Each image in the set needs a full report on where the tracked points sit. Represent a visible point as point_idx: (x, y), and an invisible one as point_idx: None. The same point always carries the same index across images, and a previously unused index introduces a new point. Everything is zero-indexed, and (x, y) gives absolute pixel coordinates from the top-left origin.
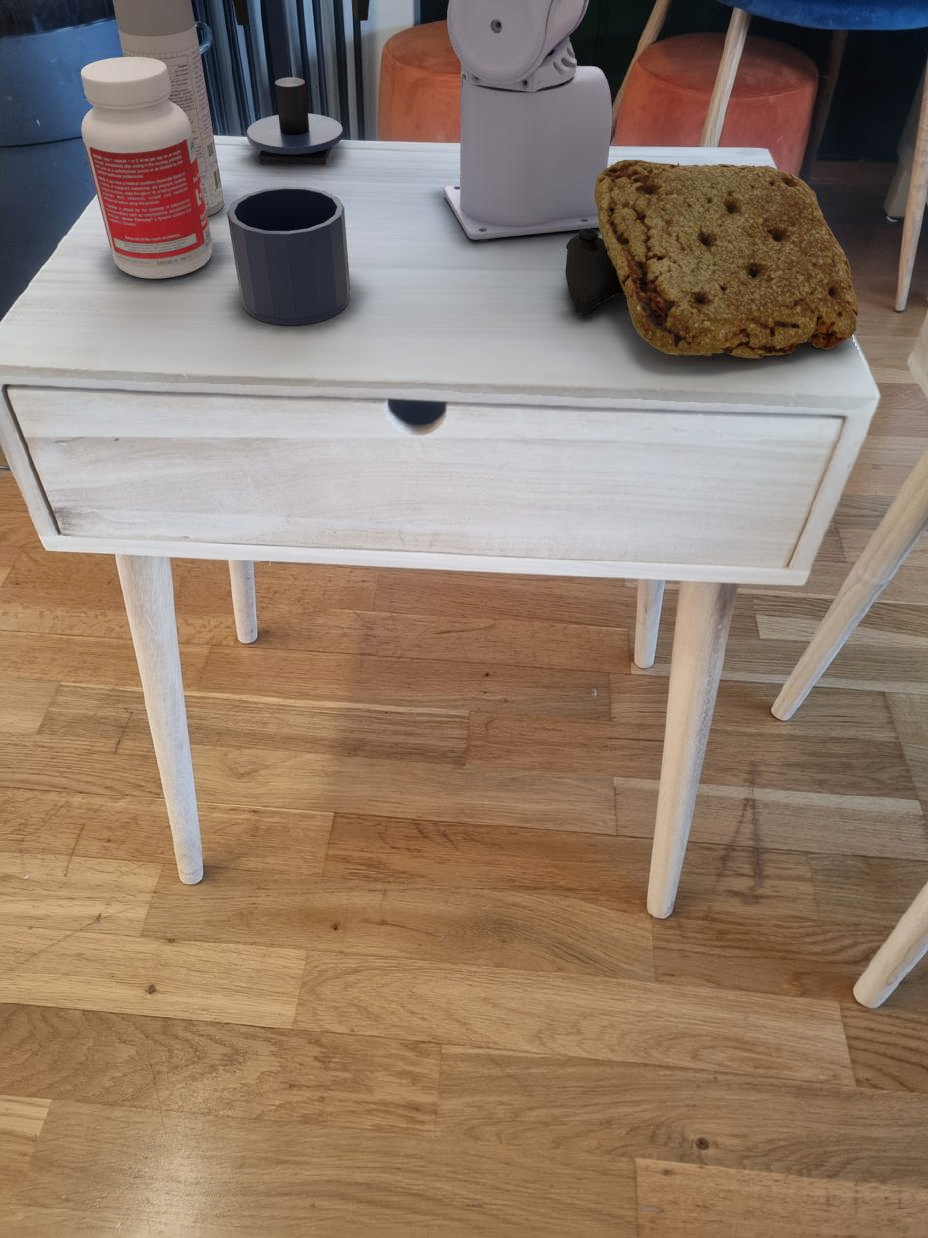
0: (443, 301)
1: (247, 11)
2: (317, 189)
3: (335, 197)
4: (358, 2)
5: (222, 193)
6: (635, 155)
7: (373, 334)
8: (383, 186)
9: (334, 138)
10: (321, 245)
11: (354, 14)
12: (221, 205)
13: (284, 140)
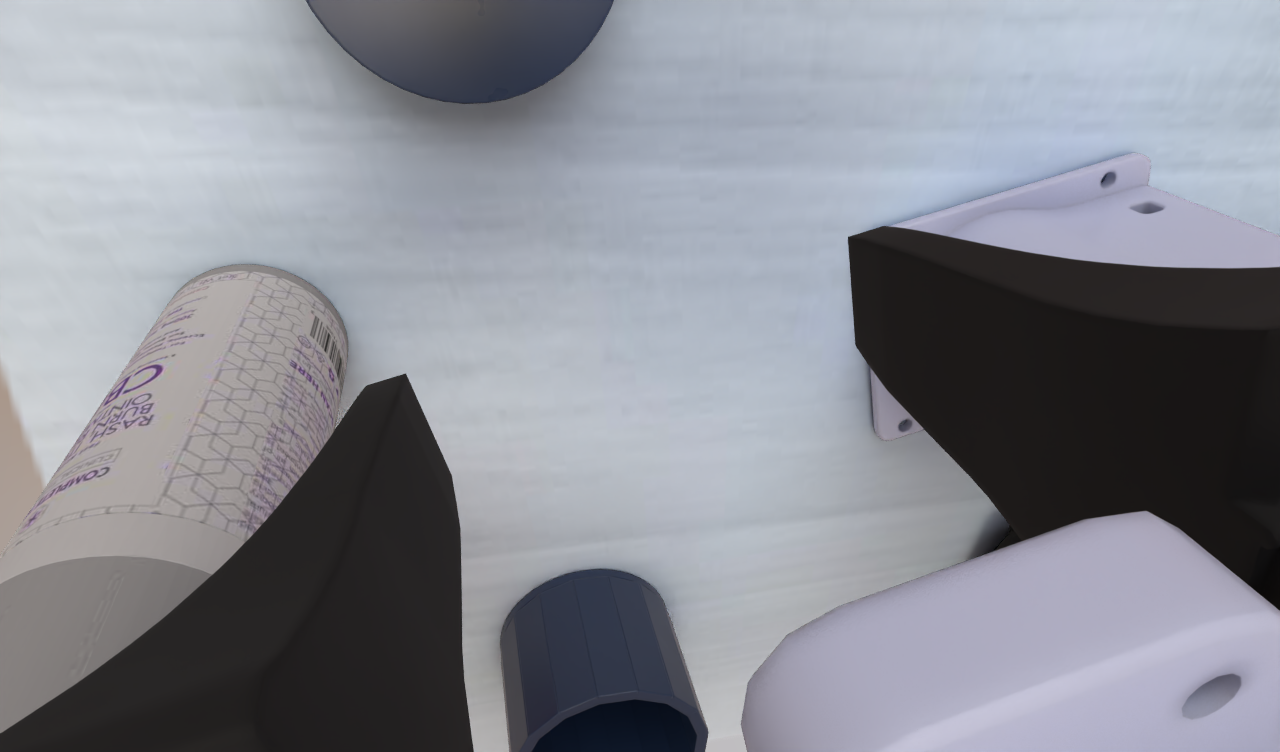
0: (800, 598)
1: (458, 518)
2: (660, 695)
3: (693, 713)
4: (892, 389)
5: (343, 340)
6: None
7: (700, 681)
8: (727, 188)
9: (606, 15)
10: None
11: (852, 285)
12: (347, 353)
13: (445, 40)
